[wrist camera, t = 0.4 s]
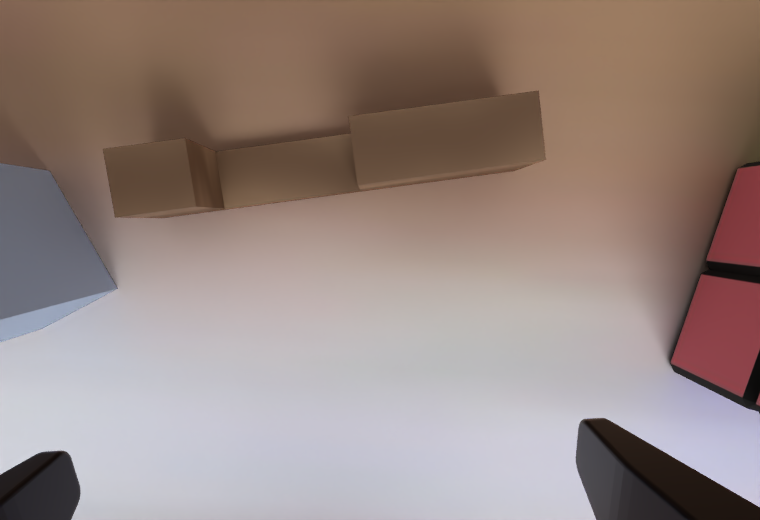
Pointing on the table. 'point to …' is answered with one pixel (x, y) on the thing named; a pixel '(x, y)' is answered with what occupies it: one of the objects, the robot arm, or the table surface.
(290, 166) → the notched walnut block
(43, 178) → the pale blue block
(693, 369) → the puzzle cube
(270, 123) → the table surface
